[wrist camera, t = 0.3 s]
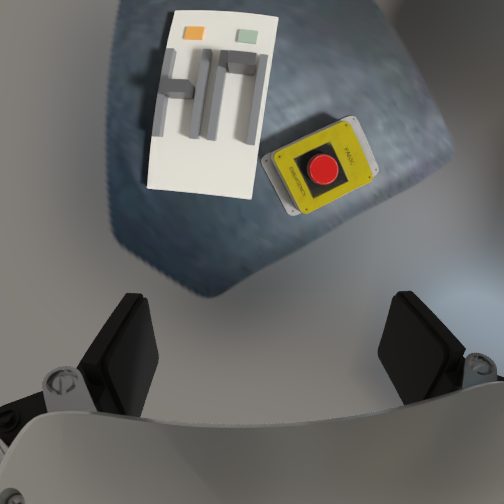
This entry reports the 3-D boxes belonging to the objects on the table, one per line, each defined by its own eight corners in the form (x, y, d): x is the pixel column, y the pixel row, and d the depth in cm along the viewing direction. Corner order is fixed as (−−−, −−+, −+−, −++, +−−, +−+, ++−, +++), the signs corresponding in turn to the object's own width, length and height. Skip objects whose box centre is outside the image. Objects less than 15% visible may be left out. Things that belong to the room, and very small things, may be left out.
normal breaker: (231, 62, 30) (229, 49, 26) (255, 64, 30) (256, 52, 26) (229, 73, 31) (227, 62, 26) (253, 75, 31) (254, 65, 26)
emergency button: (259, 159, 33) (365, 110, 31) (258, 158, 37) (353, 113, 35) (294, 225, 36) (392, 175, 34) (289, 217, 40) (378, 172, 38)
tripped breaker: (172, 87, 31) (162, 78, 26) (195, 87, 31) (187, 79, 27) (170, 98, 32) (159, 91, 27) (193, 99, 32) (185, 92, 27)
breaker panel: (177, 14, 28) (172, 5, 25) (277, 21, 29) (280, 11, 26) (150, 186, 37) (142, 190, 34) (251, 197, 38) (251, 202, 35)
